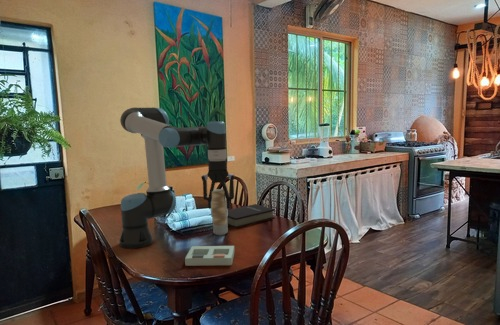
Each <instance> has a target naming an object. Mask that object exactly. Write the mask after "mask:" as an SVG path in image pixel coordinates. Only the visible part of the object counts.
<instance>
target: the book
mask: <svg viewBox="0 0 500 325" xmlns="http://www.w3.org/2000/svg"><path fill="white" fill-rule="evenodd" d="M275 211H276V210H275V208H271V207H268V206H263V205H260V204H256V203H255V204H249V205H245V206H240V207H236V208H231V209H230V208H229V209H228V216H227V220H228V226H229V227H231V228H234V229H240V228H243V227H247V226H251V225H254V224H258V223H262V222H266V221H270V220H274V219H276V218H275V217H274V216H273V215H274V214H273V213H274V212H275Z"/></svg>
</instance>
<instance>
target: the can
mask: <svg viewBox="0 0 500 325" xmlns="http://www.w3.org/2000/svg"><path fill="white" fill-rule="evenodd" d="M226 218H227V217H226ZM212 232H213V234H214V235H216V236H224V235H226V234H227V233H228V232H229V227H228V220H227V222H226V225H222V226H213V225H212Z"/></svg>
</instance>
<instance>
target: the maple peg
mask: <svg viewBox="0 0 500 325" xmlns="http://www.w3.org/2000/svg"><path fill="white" fill-rule="evenodd" d="M225 200H226V197H225V192H224V190H223V188H217V189H216V188H214V190H213V191H212V212H213V217H212V227H213V226H222V225H226V222H227V218H226V217H225Z"/></svg>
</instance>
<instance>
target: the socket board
mask: <svg viewBox="0 0 500 325" xmlns="http://www.w3.org/2000/svg"><path fill="white" fill-rule="evenodd" d="M234 256H235V245H192V246H191V247H190V249H189V251H188V252H187V254H186V255H185V258H184V265H185V266H187V267H188V266H190V267H191V266H194V267H195V266H196V267H197V266H232V265H233V262H234V261H233V260H234Z"/></svg>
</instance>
